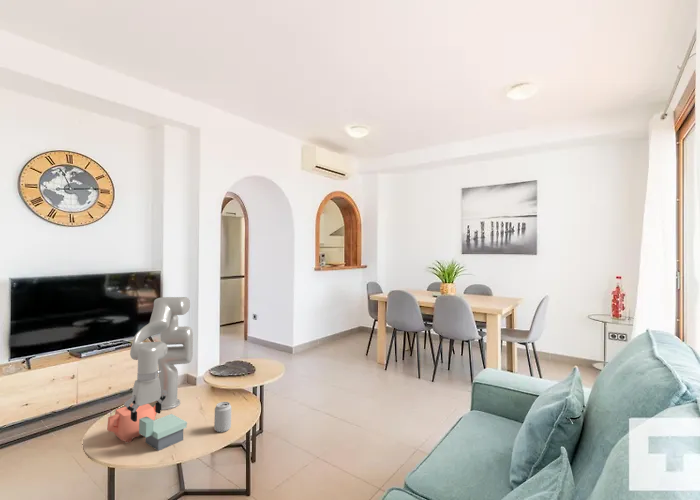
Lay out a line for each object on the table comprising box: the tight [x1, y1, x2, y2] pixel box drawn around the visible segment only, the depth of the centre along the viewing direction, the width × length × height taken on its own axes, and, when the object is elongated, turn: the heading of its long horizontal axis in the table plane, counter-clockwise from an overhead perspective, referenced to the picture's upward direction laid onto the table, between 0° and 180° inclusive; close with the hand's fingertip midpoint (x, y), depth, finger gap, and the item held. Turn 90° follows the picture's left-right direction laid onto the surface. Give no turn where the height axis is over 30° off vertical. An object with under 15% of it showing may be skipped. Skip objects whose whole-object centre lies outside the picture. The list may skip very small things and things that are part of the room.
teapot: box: [106, 403, 158, 443], centre depth 163 cm, size 22×13×14 cm, turn 141°
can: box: [213, 401, 232, 433], centre depth 170 cm, size 8×8×12 cm
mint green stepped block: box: [139, 413, 188, 439], centre depth 157 cm, size 13×16×7 cm
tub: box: [145, 429, 184, 452], centre depth 158 cm, size 11×11×7 cm
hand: (146, 416), depth 151 cm, fingers open, 9 cm apart
